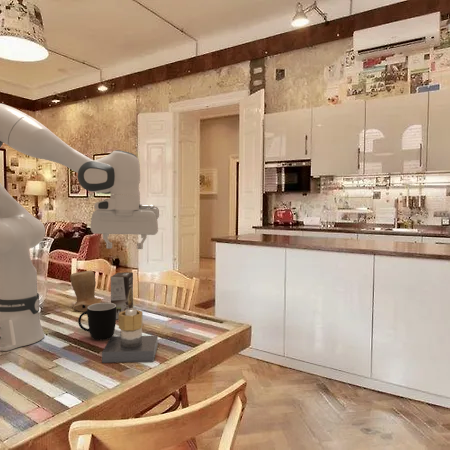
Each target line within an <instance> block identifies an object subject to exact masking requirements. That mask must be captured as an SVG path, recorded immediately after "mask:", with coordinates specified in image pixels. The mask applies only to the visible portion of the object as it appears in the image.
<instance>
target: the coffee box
mask: <svg viewBox="0 0 450 450" xmlns="http://www.w3.org/2000/svg"><path fill="white" fill-rule="evenodd" d="M110 303H113V304H115V305H116V320H119V313H120V312H122V311H125V310H126V309H128V308H134V272H117V273H114V274H113V275H112V276H110Z"/></svg>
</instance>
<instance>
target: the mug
mask: <svg viewBox="0 0 450 450" xmlns="http://www.w3.org/2000/svg"><path fill="white" fill-rule="evenodd" d="M85 315H86V316H87V323H88V328H86V327H85V326H83V324H82V322H81V319H82V317H83V316H85ZM77 320H78V321H77V322H78V323H77V324H78V326H79V327H80V329H81V330H83V331H85V332H88V333H89V334H90V337H91V339H92V340H94V341H105V340H109V339H110V338H111V336H114V333H115V330H116V324H117V319H116V305H115V304H113V303H111V302H101V303H97V304H92V305H90V306H88V307H87V311H86V312H81V314H80V315H79V317H78V319H77Z"/></svg>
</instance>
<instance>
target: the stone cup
mask: <svg viewBox="0 0 450 450" xmlns="http://www.w3.org/2000/svg"><path fill="white" fill-rule="evenodd" d="M70 284H71V287H72V289H73V292H74V294H75V297H76V301H75V303H74V304H73V307H72V309H73V310H76V311H78V312H81V313H84V312H86V311H87V307H88V306H90V305H92V304H97V303H102V302H103V300H102V298H97V297H96V296H95V293H96V291H95V290H96V285H97V283H96V275H95V272H94V271H93V270H86V271H79V272H78V271H77V272H73V273H71V274H70Z"/></svg>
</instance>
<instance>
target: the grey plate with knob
mask: <svg viewBox="0 0 450 450" xmlns="http://www.w3.org/2000/svg"><path fill="white" fill-rule="evenodd" d="M137 310H138V309H137V308H135V307H133V308H128V309H126V310H125V316H133V315H137ZM158 337H159V335H143V328H140V329H137V330H122V329H120V336H119V335H118V336H117V335H115V336H114V335H113V336H111V338H110V339H108V341H107V343H106V344H105V346H104V348H103V350H102V351H101V363H102V364H104V363H105V364H106V363H107V364H109V363H111V364H113V363H114V364H115V363H144V362H146V363H149V362H150V363H151V362H152V363H153V362H154V361H155V357H156V353H157V350H158V345H159V344H158V343H159V341H158Z"/></svg>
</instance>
